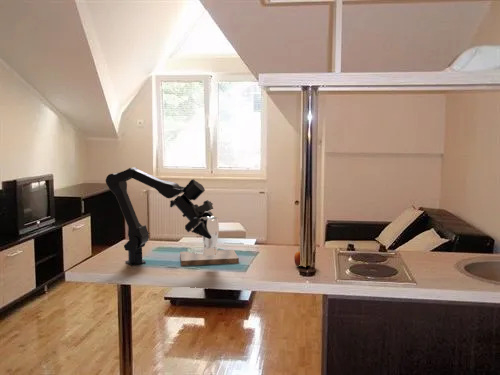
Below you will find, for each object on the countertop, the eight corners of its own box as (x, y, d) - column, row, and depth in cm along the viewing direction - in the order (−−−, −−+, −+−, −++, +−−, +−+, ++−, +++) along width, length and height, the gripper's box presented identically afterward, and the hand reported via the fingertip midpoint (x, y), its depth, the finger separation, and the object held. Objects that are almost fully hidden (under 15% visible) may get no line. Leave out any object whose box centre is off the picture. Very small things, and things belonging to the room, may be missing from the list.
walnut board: (181, 265, 197) (181, 260, 197) (180, 256, 212) (180, 251, 212) (238, 262, 202) (238, 258, 201) (233, 253, 216) (233, 249, 216)
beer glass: (216, 257, 189) (216, 220, 187) (199, 256, 190) (199, 219, 188) (220, 253, 196) (220, 217, 194) (204, 252, 197) (204, 216, 195)
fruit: (290, 266, 192) (293, 247, 195) (294, 271, 198) (297, 253, 201) (309, 268, 189) (312, 249, 192) (313, 273, 195) (316, 255, 198)
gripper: (192, 197, 182) (220, 227, 181) (208, 191, 200) (233, 219, 199) (173, 217, 185) (200, 246, 183) (190, 209, 203) (215, 236, 201)
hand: (213, 236), depth 192 cm, fingers closed on beer glass, 6 cm apart
